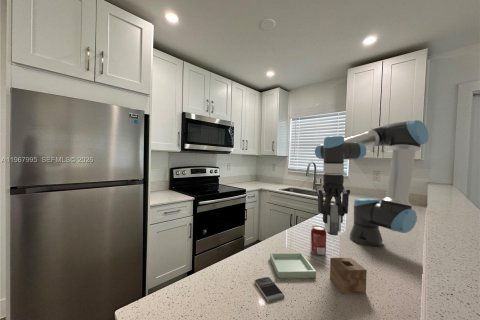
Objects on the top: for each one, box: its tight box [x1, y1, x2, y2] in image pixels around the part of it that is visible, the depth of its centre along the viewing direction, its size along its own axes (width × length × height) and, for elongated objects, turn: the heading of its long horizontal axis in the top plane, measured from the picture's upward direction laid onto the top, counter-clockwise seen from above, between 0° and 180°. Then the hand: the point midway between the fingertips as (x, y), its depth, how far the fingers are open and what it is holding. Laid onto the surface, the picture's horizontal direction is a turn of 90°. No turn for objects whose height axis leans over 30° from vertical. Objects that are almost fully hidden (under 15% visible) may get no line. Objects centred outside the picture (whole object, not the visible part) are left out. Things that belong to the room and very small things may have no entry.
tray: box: [269, 252, 317, 280], centre depth 79 cm, size 14×14×2 cm
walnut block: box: [329, 257, 367, 295], centre depth 68 cm, size 8×8×8 cm
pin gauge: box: [326, 202, 339, 236], centre depth 80 cm, size 4×4×12 cm
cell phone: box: [253, 276, 285, 304], centre depth 65 cm, size 6×11×1 cm, turn 20°
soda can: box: [310, 225, 327, 256], centre depth 92 cm, size 7×7×12 cm
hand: (332, 230), depth 80 cm, fingers closed on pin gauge, 4 cm apart
